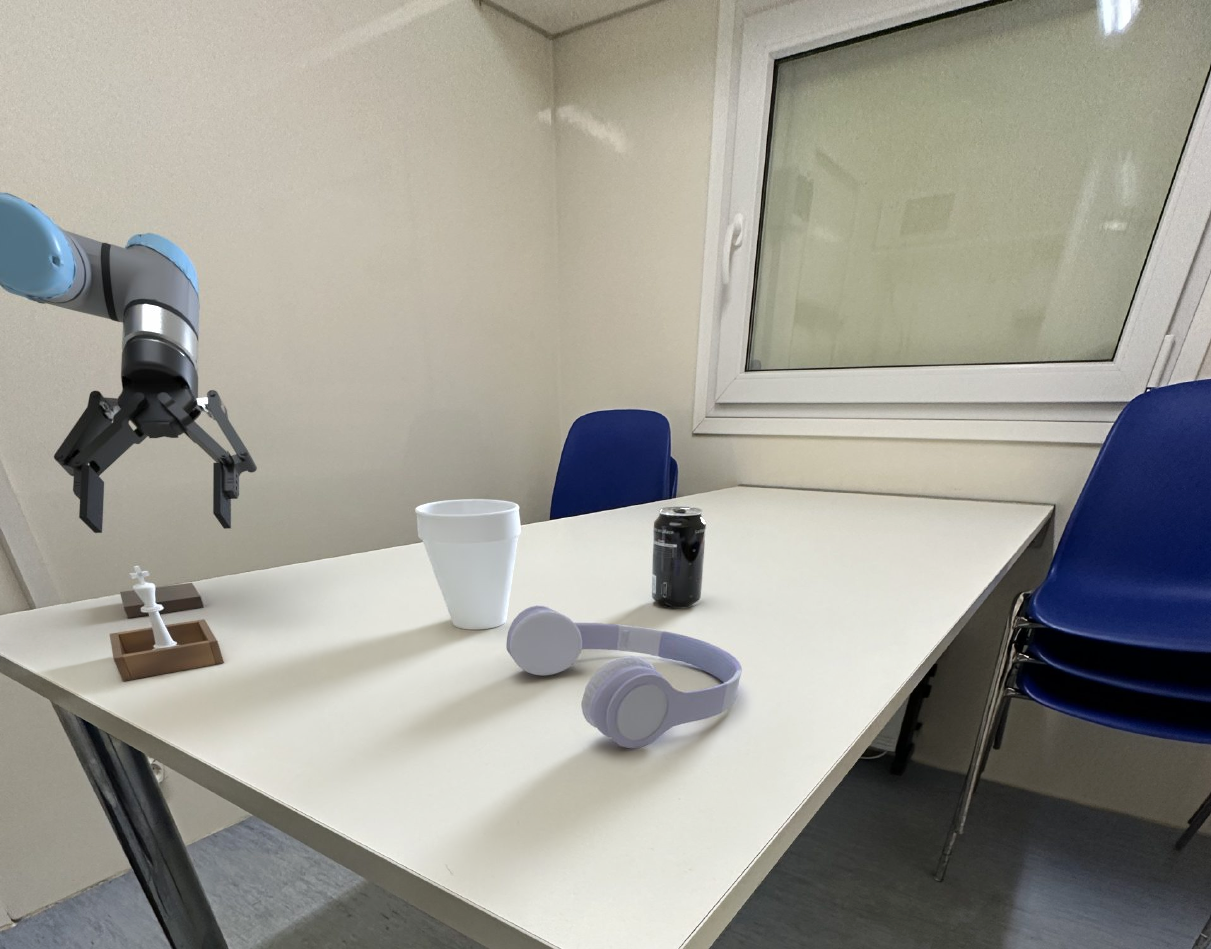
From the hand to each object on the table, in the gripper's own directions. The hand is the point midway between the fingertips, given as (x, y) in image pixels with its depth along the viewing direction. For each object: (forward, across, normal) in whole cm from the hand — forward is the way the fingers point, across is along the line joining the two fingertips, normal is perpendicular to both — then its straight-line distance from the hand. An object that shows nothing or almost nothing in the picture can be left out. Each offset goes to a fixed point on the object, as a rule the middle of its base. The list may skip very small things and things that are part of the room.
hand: (157, 523), depth 75 cm
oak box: (+15, 0, -4) cm, 15 cm away
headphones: (+27, -49, +9) cm, 57 cm away
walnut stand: (-2, +9, -20) cm, 22 cm away
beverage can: (+7, -61, -12) cm, 63 cm away
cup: (+9, -34, -10) cm, 37 cm away
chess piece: (+15, 0, -4) cm, 15 cm away
